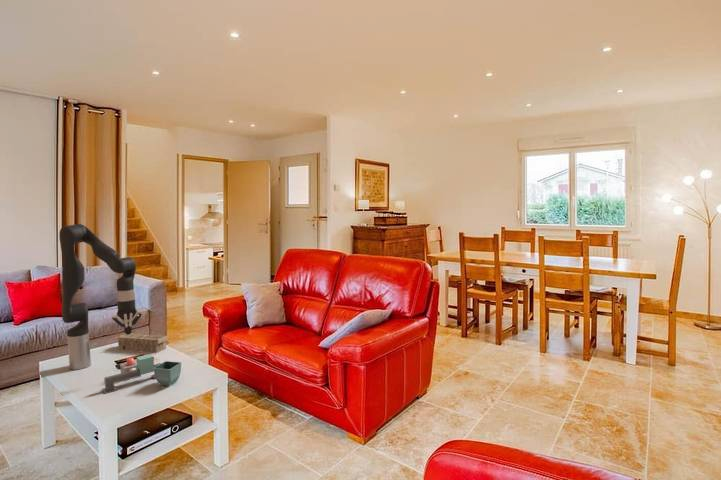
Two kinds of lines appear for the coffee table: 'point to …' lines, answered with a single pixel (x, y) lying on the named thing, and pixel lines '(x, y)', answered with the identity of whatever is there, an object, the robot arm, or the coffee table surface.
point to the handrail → (111, 379)
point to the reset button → (130, 361)
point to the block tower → (142, 342)
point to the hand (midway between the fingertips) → (128, 334)
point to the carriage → (145, 363)
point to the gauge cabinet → (129, 369)
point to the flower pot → (167, 372)
